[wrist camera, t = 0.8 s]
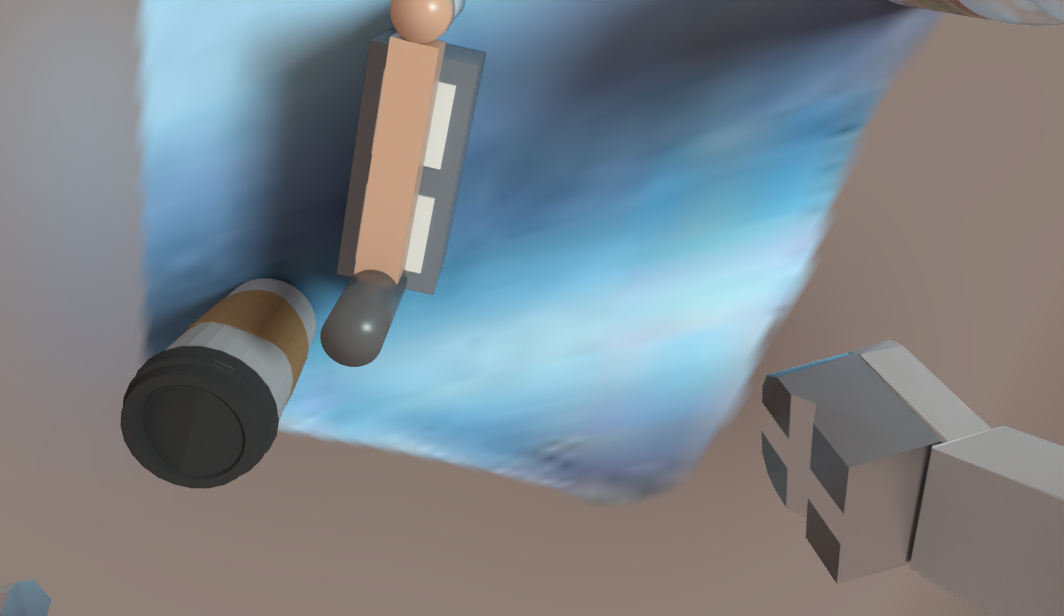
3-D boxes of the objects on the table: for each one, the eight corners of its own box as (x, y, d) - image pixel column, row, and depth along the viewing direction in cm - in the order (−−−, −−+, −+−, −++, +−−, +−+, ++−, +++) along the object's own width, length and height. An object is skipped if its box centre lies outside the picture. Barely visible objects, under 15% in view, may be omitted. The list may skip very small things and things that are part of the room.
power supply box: (394, -37, 48) (368, -33, 41) (498, -11, 48) (490, -3, 41) (352, 240, 55) (325, 283, 48) (444, 260, 55) (429, 305, 48)
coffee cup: (202, 344, 58) (97, 467, 45) (230, 243, 55) (126, 342, 41) (314, 383, 59) (245, 515, 46) (347, 287, 56) (284, 397, 43)
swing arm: (403, -29, 40) (369, -22, 33) (462, -14, 41) (442, -4, 33) (353, 292, 48) (317, 359, 40) (404, 302, 48) (377, 372, 40)
